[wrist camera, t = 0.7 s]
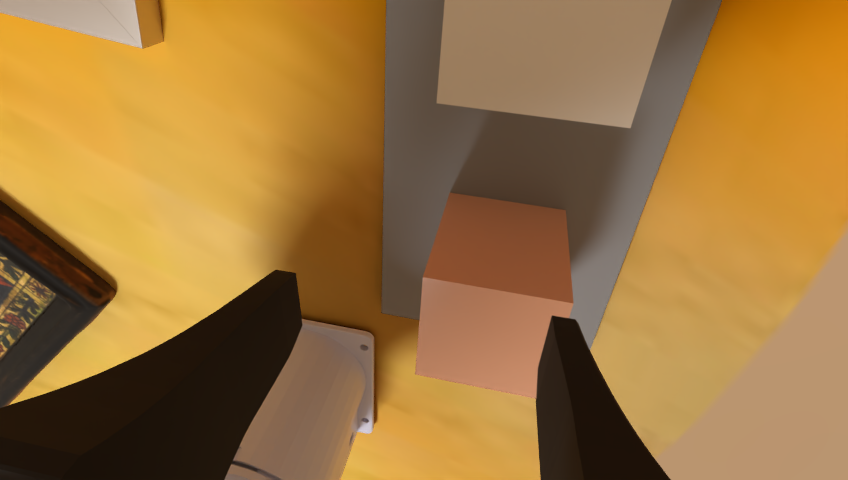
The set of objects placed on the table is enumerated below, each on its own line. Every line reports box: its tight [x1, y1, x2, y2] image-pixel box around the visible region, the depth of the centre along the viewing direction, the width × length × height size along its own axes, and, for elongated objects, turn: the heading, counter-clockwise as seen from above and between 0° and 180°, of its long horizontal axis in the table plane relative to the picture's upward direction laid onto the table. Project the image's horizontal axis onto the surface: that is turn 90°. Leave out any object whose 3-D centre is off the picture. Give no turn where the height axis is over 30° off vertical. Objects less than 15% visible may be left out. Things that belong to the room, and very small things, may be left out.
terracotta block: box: [415, 193, 574, 399], centre depth 20 cm, size 5×5×6 cm
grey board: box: [381, 0, 722, 350], centre depth 19 cm, size 22×11×1 cm, turn 177°
